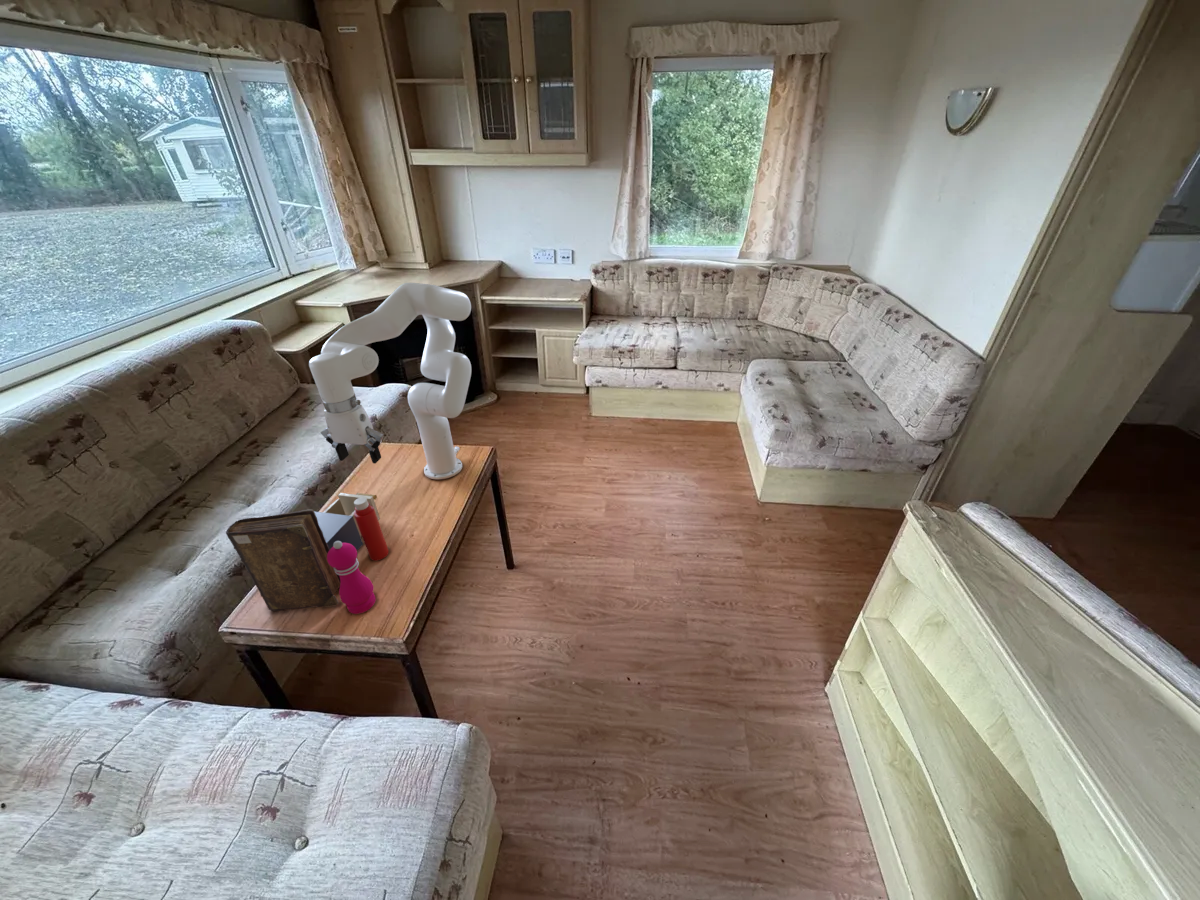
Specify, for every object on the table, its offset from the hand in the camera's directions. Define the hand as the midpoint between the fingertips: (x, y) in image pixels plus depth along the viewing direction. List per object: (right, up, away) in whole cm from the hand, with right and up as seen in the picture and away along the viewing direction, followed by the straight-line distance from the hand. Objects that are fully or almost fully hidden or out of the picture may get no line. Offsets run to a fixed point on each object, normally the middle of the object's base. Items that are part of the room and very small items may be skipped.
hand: (360, 459), depth 129 cm
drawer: (-6, -20, +8) cm, 22 cm away
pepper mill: (+7, -35, -14) cm, 38 cm away
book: (-7, -34, -12) cm, 37 cm away
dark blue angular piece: (-8, -27, -1) cm, 28 cm away
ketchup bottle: (+5, -26, 0) cm, 26 cm away
